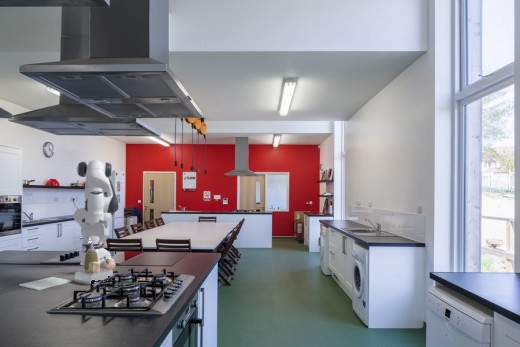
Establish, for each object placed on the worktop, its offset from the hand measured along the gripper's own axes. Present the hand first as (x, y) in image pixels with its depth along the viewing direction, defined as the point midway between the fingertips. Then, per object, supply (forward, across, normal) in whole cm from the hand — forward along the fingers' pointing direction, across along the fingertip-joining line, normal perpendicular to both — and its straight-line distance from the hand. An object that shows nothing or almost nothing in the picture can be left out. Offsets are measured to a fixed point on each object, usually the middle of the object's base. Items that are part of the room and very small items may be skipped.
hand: (94, 243), depth 193 cm
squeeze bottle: (+21, +18, -11) cm, 30 cm away
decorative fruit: (+21, +5, -13) cm, 25 cm away
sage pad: (+21, +17, +17) cm, 32 cm away
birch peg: (+21, 0, 0) cm, 21 cm away
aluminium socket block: (+21, 0, 0) cm, 21 cm away
